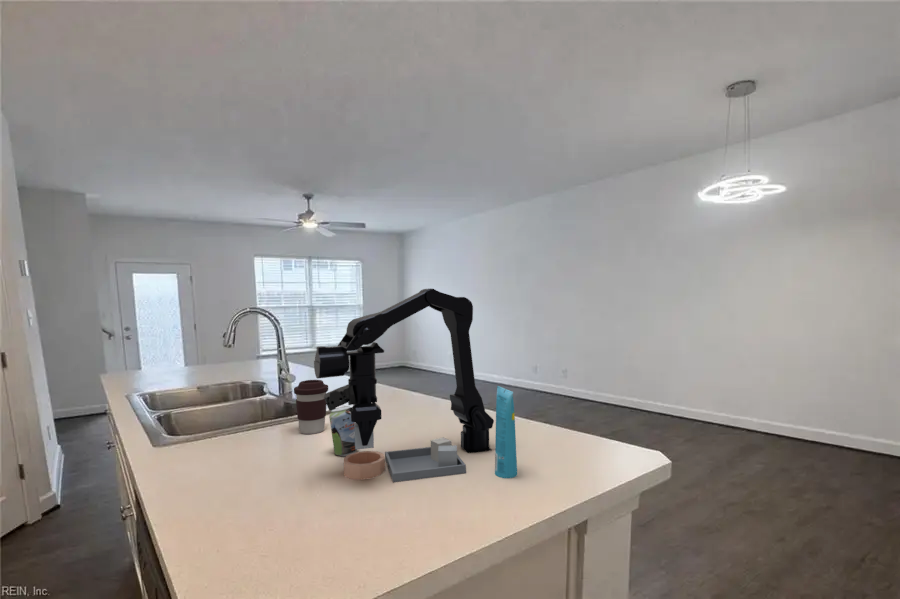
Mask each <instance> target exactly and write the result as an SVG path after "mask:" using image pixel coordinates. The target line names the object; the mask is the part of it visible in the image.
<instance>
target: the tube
mask: <svg viewBox="0 0 900 599" xmlns="http://www.w3.org/2000/svg"><path fill="white" fill-rule="evenodd" d="M496 387H497V388H496V398H495V399H496V401H495V403H496V404H495V405H496V406H495V444H494V445H495V447H494V450H495V451H494V454H495V456H494V463H495V464H494V474H495V476H496V477H498V478H500V479H513V478H516V477H517V476H518V460H517V441H516V440H517V439H516V420H515V419H516V418H515V417H516V416H515V402H514V391H511V390H509V389H507V388H505V387H502V386H499V385H497V386H496Z"/></svg>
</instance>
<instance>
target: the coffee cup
mask: <svg viewBox="0 0 900 599" xmlns="http://www.w3.org/2000/svg"><path fill="white" fill-rule="evenodd" d="M328 391H329V385H328V384H325V383H324V381H323V380H322V379H306V380H301V381H300V382H299V383H298V385H297V386H295V387H294V388H293V394H294V395H295V397H296V399H295V404H296V415H297V416H296V418H297V421H298V429H299V430H298V431H299V433H300V434H302V435H314V434H319V433H321V432H324V431H325V427H326V426H325V424H326V416H327V404H326V401H325V399H324V395H325V394H326V393H328Z"/></svg>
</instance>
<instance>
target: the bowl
mask: <svg viewBox="0 0 900 599" xmlns="http://www.w3.org/2000/svg"><path fill="white" fill-rule="evenodd" d="M385 471H386V460H385V453H382V452H379V451H377V450H376V451H375V450H374V451H373V450H372V451H371V450H363V451H356V453H352V454H349V455H347V456H344V457H343V476H344V477H346V478H347V479H351V480H357V481H358V480H359V481H361V480H369V479H375V478H376V477H380V476H381V475H383V474H384V472H385Z"/></svg>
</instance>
